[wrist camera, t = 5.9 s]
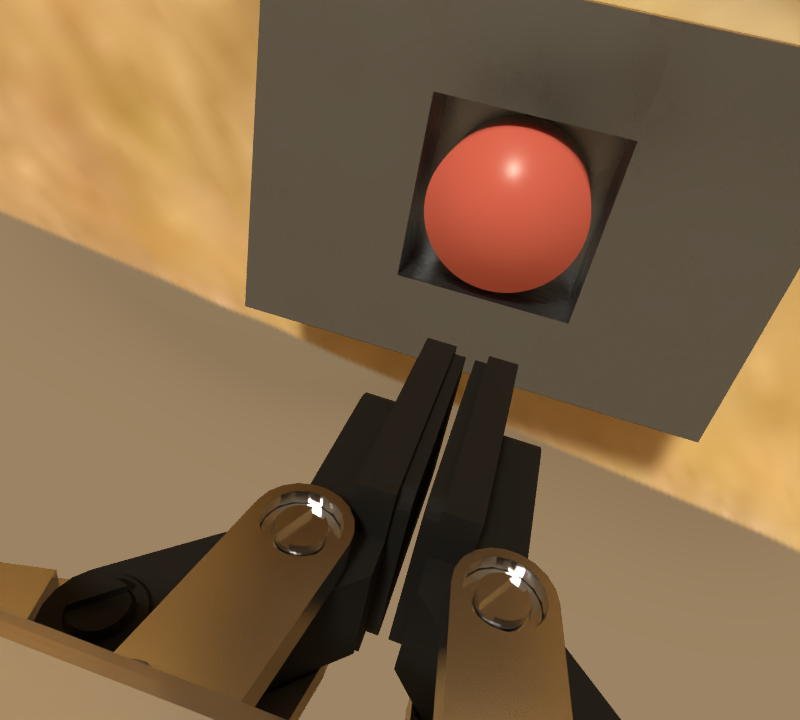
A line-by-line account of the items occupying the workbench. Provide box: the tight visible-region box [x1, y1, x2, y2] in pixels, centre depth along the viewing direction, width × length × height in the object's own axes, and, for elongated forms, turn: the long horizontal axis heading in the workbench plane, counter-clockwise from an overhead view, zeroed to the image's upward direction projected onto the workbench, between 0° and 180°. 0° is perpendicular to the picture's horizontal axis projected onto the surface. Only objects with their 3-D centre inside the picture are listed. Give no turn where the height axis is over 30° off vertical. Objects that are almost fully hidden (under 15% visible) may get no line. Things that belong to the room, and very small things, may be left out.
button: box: [424, 115, 591, 293], centre depth 24 cm, size 6×6×3 cm
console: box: [245, 0, 800, 442], centre depth 25 cm, size 20×14×6 cm
